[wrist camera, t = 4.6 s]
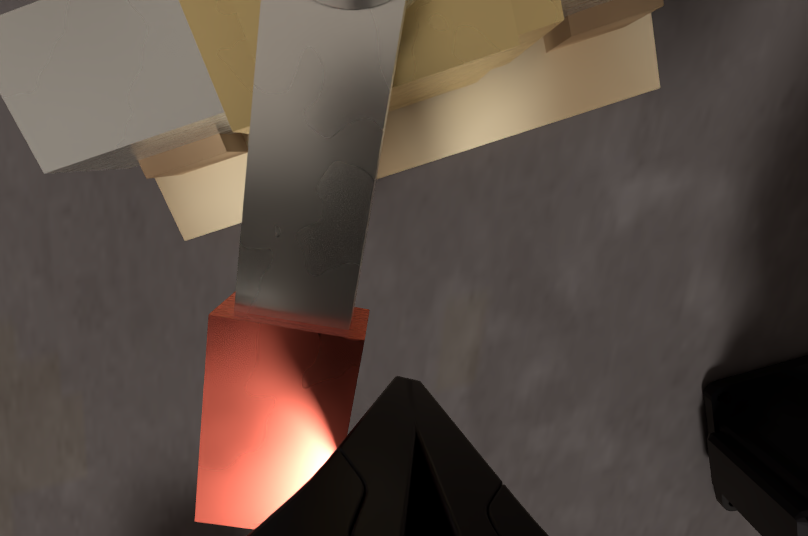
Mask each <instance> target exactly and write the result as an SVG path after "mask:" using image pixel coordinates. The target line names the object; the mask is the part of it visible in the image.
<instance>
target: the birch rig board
mask: <svg viewBox="0 0 808 536" xmlns="http://www.w3.org/2000/svg"><path fill="white" fill-rule="evenodd" d="M662 6H664V2H663V0H612V1H609V2H606V3H603V4H600V5H597V6H594V7H591V8H588V9H585V10H582V11H579V12H576V13H573V14H571V15H568V16H566V17H565V18H564V21H562V22H561V23H560V24H558V25H557V26H556V27H555V28H553V29H552V30H551V31H550V32H548V33H547V34H546V35H544V36H543V37H542V38H541V39H539V40H538V41H537V42H536V43H534V44H533V45H532V46H530V47H529V48H528V49H527V50H525V51H524V52H523V53H522V54H520V55H519V56H518V57H516V58H515V59H514V60H513V61H511V62H510V63H509V64H506V65H503V66H500V67H497V68H494V69H491V70H490V71H489V72H488V73H487V74H486V75H485V76H483V77H482V78H481V79H480V80H479V81H478V82H476V83H474V84H471V85H468V86H465V87H462V88H459V89H456V90H453V91H450V92H447V93H444V94H441V95H438V96H435V97H432V98H429V99H426V100H423V101H420V102H417V103H414V104H411V105H408V106H405V107H402V108H399V109H396V110H393V111H390V112H388V115H387V121H386V127H385V132H384V138H383V144H382V150H381V156H380V161H379V167H378V173H377V179H379V178H382V177H385V176H388V175H391V174H394V173H397V172H400V171H404V170H407V169H410V168H413V167H416V166H419V165H422V164H425V163H428V162H431V161H435V160H438V159H441V158H444V157H447V156H450V155H453V154H456V153H459V152H463V151H466V150H469V149H472V148H475V147H478V146H481V145H484V144H487V143H491V142H494V141H497V140H500V139H503V138H506V137H509V136H512V135H515V134H518V133H522V132H525V131H528V130H531V129H534V128H537V127H540V126H543V125H546V124H550V123H553V122H556V121H559V120H562V119H565V118H568V117H571V116H574V115H578V114H581V113H584V112H587V111H590V110H593V109H596V108H599V107H602V106H605V105H609V104H612V103H615V102H618V101H621V100H624V99H627V98H630V97H633V96H637V95H640V94H643V93H646V92H649V91H652V90H655V89H658V88H660V82H659V74H658V66H657V57H656V49H655V41H654V33H653V25H652V16H651V12H653V11H655V10H657V9H658V8H660V7H662ZM248 143H249V134H245V133H238V132H237V133H234V134H231V135H230V134H221V133H219V134H216V135H213V136H210V137H207V138H204V139H201V140H198V141H195V142H192V143H189V144H186V145H183V146H180V147H177V148H174V149H171V150H168V151H165V152H162V153H159V154H156V155H153V156H150V157H148V158H145V159H142V160H139V161H138V162H139V164H140V166H141V168H142V170H143V172H144V174H145V176H146V178H155V179H156V182H157V184H158V186H159V188H160V190H161V192H162V194H163V196H164V198H165V200H166V203H167V205H168V207H169V209H170V211H171V213H172V215H173V217H174V219H175V221H176V224H177V226H178V228H179V230H180V232H181V234H182V236H183V238H184V240H185V241H186V240H189V239H192V238H195V237H198V236H202V235H205V234H208V233H211V232H214V231H217V230H220V229H223V228H226V227H229V226H233V225H236V224H239V223H242V213H243V201H244V190H245V178H246V167H247V155H248Z"/></svg>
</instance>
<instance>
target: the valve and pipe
mask: <svg viewBox="0 0 808 536" xmlns="http://www.w3.org/2000/svg"><path fill="white" fill-rule="evenodd" d="M609 1H612V0H416V1H415V2H414V3H413V4H412V5H411V6H410V7H409V8H407V9H406V11H405V16H404V22H403V28H402V34H401V40H400V45H399V51H398V57H397V63H396V69H395V74H394V80H393V86H392V92H391V98H390V103H389V109H388V112H390V111H393V110H396V109H399V108H402V107H405V106H408V105H411V104H414V103H417V102H420V101H423V100H426V99H429V98H432V97H435V96H438V95H441V94H444V93H447V92H450V91H453V90H456V89H459V88H462V87H465V86H468V85H471V84H474V83H476V82H478V81H479V80H480V79H481V78H482V77H483V76H485V75H486V74H487V73H488V72H489V71H490V70H491V69H494V68H497V67H500V66H503V65H506V64H509V63H510V62H511V61H513V60H514V59H515V58H516V57H518V56H519V55H520V54H522V53H523V52H524V51H525V50H527V49H528V48H529V47H530V46H532V45H533V44H534V43H536V42H537V41H538V40H539V39H541V38H542V37H543V36H544V35H546V34H547V33H548V32H550V31H551V30H552V29H553V28H555V27H556V26H557V25H558V24H560V23H561V22H562V21H564V18H565V17H566V16H568V15H571V14H573V13H576V12H579V11H582V10H585V9H588V8H591V7H594V6H597V5H600V4H603V3H606V2H609ZM260 4H261V0H40V1H37V2H34V3H31V4H29V5H26V6H23V7H21V8H18V9H15V10H13V11H10V12H7V13H5V14H2V15H0V94H1V96H2V98H3V100H4V101H5V103H6V105H7V107H8V109H9V111H10V112H11V114H12V116H13V118H14V120H15V121H16V123H17V125H18V127H19V129H20V131H21V132H22V134H23V136H24V138H25V140H26V141H27V143H28V145H29V147H30V149H31V151H32V152H33V154H34V156H35V158H36V160H37V161H38V163H39V165H40V167H41V169H42V171H43V172H44V174H48V173H65V172H81V171H98V170H115V169H130V168H133V167H136V166H139V165H140V164H139V162H138V161H139V160H142V159H145V158H148V157H150V156H153V155H156V154H159V153H162V152H165V151H168V150H171V149H174V148H177V147H180V146H183V145H186V144H189V143H192V142H195V141H198V140H201V139H204V138H207V137H210V136H213V135H216V134H219V133H221V134H230V135H231V134H234V133H237V132H238V133H245V134H249V132H250V120H251V108H252V97H253V85H254V73H255V62H256V50H257V38H258V27H259V15H260Z"/></svg>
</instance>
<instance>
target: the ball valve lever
mask: <svg viewBox="0 0 808 536" xmlns="http://www.w3.org/2000/svg"><path fill="white" fill-rule="evenodd" d="M415 1H416V0H261V4H260V15H259V27H258V38H257V50H256V62H255V73H254V85H253V97H252V108H251V120H250V132H249V143H248V155H247V167H246V178H245V190H244V201H243V213H242V225H241V236H240V248H239V260H238V271H237V283H236V291H235V292H234V293H233V294H232V295H231V296H230V297H228V298H227V299H226V300H225V301H224V302H223V303H221V304H220V305H219V306H218V307H217V308H216V309H215V310H213V311H212V312H211V313H210V314H209V318H208V332H207V347H206V362H205V377H204V391H203V406H202V421H201V436H200V451H199V465H198V480H197V495H196V510H195V522H202V523H209V524H217V525H225V526H232V527H240V528H248V529H255V528H256V527H258V526H259V525H260V524H261V523H262V522H263V521H264V520H265V519H267V518H268V517H269V516H270V515H271V514H272V513H273V512H274V511H276V510H277V509H278V508H279V507H280V506H281V505H282V504H284V503H285V502H286V501H287V500H288V499H289V498H290V497H291V496H293V495H294V494H295V493H296V492H297V491H298V490H299V489H300V488H301V487H302V486H303V485H304V484H305V483H306V482H307V481H308V480H309V479H310V478H311V477H312V476H313V475H314V474H315V473H316V472H317V471H318V470H319V468H320V467H321V466H322V465H323V464H324V463H325V462H326V461H327V459H328V458H329V457H330V456H331V455H332V453H333V452H334V451H335V450H336V449H337V448H338V446H339V445H340V444H341V443H342V441H343V440H344V439H345V438H346V437H347V432H348V427H349V422H350V416H351V411H352V405H353V400H354V394H355V389H356V384H357V378H358V373H359V367H360V362H361V356H362V351H363V346H364V340H365V334H366V328H367V322H368V316H369V309H363V308H357V307H354V306H355V301H356V295H357V289H358V283H359V277H360V272H361V266H362V260H363V254H364V248H365V243H366V237H367V231H368V225H369V219H370V214H371V208H372V202H373V196H374V190H375V185H376V179H377V173H378V167H379V161H380V156H381V150H382V144H383V138H384V132H385V127H386V121H387V115H388V109H389V103H390V98H391V92H392V86H393V80H394V74H395V69H396V63H397V57H398V51H399V45H400V40H401V34H402V28H403V22H404V16H405V11H406V9H407V8H409V7H410V6H411V5H412V4H413V3H414V2H415Z"/></svg>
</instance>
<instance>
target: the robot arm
mask: <svg viewBox="0 0 808 536" xmlns="http://www.w3.org/2000/svg"><path fill="white" fill-rule="evenodd" d="M720 393H721V395H720V396H718V395H719V394H720ZM704 401H705V409H706V418H707V426H708V438H707V444H708V453H709V461H710V469H711V478H712V484H713V485H714V486H715V495H716V499H717V501H718V502H719V503H720V504H721V505H722V506H723V507H724V508H725V509H726V510H728V511H736V510H738V511H739V513H740V514H741V515H742V516H743V517H744V518H745V519H746V520H747V521H748V522H749V523H750V524H751V525H752V526H753V527H754V528H755V529H756V530H757V531H758V532H759V533H760V534H761V535H762V536H808V356H806V357H803V358H799V359H795V360H792V361H788V362H784V363H781V364H777V365H773V366H770V367H766V368H762V369H759V370H755V371H751V372H748V373H744V374H740V375H737V376H733V377H729V378H726V379H722V380H718V381H715V382H713V383H710V384H709V385H708V386H707V387H706V389H705V391H704ZM247 536H548V534H547V533H546V532H545V531H544V530H543V529H542V528H541V527H540V526H539V525H538V524H537V523H536V521H535V520H534V519H533V518H532V517H531V516H530V514H529V513H528V512H527V511H526V510H525V508H524V507H523V506H522V505H521V504H520V503H519V501H518V500H517V499H516V498H515V497H514V495H513V494H512V493H511V492H510V491H509V489H508V488H507V487H506V486H505V485H502V481H501V480H500V478H499V477H498V476H497V475H496V474H495V472H494V471H493V470H492V469H491V467H490V466H489V465H488V464H487V462H486V461H485V460H484V459H483V458H482V456H481V455H480V454H479V453H478V451H477V450H476V449H475V448H474V447H473V445H472V444H471V443H470V442H469V440H468V439H467V438H466V437H465V435H464V434H463V433H462V432H461V431H460V429H459V428H458V427H457V426H456V424H455V423H454V422H453V421H452V420H451V418H450V417H449V416H448V415H447V413H446V412H445V411H444V410H443V408H442V407H441V406H440V405H439V404H438V402H437V401H436V400H435V399H434V397H433V396H432V395H431V394H430V393H429V391H428V390H427V389H426V388H425V386H424V385H423V384H422V383H421V382H420V381H418V380H413V379H409V378H404V377H400V376H396V377H395V378H394V379H393V380H392V381H391V383H390V384H389V385H388V386H387V388H386V389H385V390H384V391H383V392H382V394H381V395H380V396H379V397H378V399H377V400H376V401H375V402H374V403H373V405H372V406H371V407H370V408H369V410H368V411H367V412H366V413H365V415H364V416H363V417H362V418H361V419H360V421H359V422H358V423H357V424H356V426H355V427H354V428H353V429H352V430H351V432H350V433H349V434H348V435H347V437H346V438H345V439H344V440H343V441H342V443H341V444H340V445H339V446H338V448H337V449H336V450H335V451H334V452H333V453H332V455H331V456H330V457H329V458H328V459H327V461H326V462H325V463H324V464H323V465H322V466H321V467H320V468H319V470H318V471H317V472H316V473H315V474H314V475H313V476H312V477H311V478H310V479H309V480H308V481H307V482H306V483H305V484H304V485H303V486H302V487H301V488H300V489H299V490H298V491H297V492H296V493H295V494H294V495H293V496H291V497H290V498H289V499H288V500H287V501H286V502H285V503H284V504H282V505H281V506H280V507H279V508H278V509H277V510H276V511H274V512H273V513H272V514H271V515H270V516H269V517H268V518H267V519H265V520H264V521H263V522H262V523H261V524H260V525H259V526H258V527H256V528H255V529H254V530H253V531H252V532H251V533H250V534H248V535H247Z"/></svg>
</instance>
